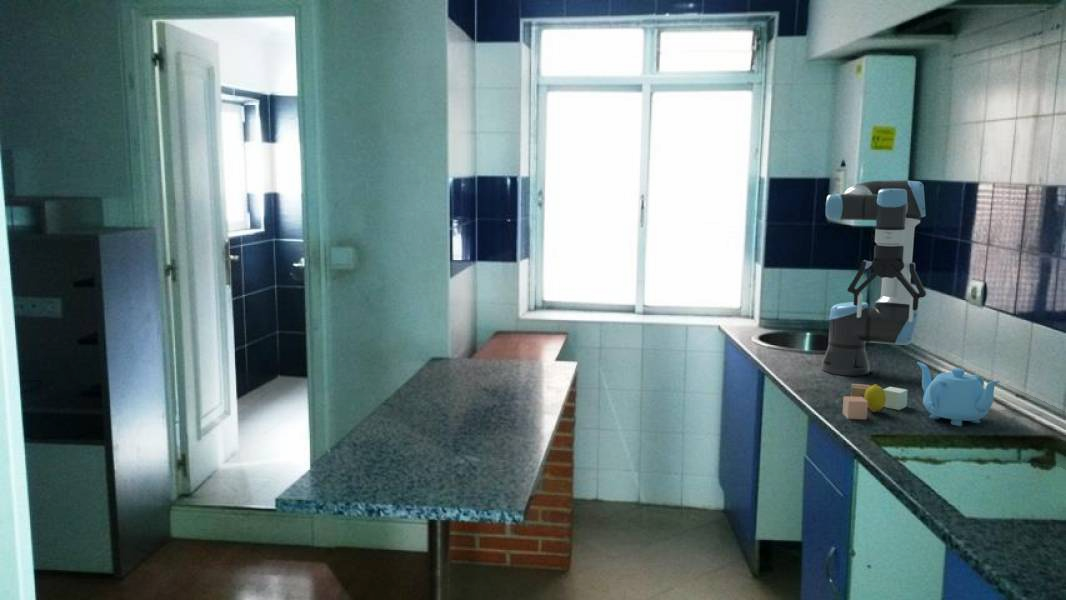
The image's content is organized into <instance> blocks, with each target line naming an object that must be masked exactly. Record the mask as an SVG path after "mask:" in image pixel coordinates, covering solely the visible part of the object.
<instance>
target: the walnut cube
mask: <svg viewBox="0 0 1066 600" xmlns="http://www.w3.org/2000/svg"><path fill="white" fill-rule="evenodd" d="M870 386H871V385H870V384H860V383H851V390H850V396H851V397H863V398H864V396H865V392H866V390H867V388H869V387H870Z"/></svg>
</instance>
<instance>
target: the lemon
mask: <svg viewBox="0 0 1066 600" xmlns="http://www.w3.org/2000/svg"><path fill="white" fill-rule="evenodd" d="M883 389H884V388H883V387H882V386H879V385H878V384H876V383H875V384H873V385H870V387H869V388H867V390H866V392H865V396H864V399H865V400H866V401H867V402H868V407H867V409H869V410H871V411H872V412H873V413H876V412H878V411H881V410H882V409H883V408H884V407H883V406H884V405H885V402H886V395H885V391H884V390H883Z"/></svg>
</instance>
